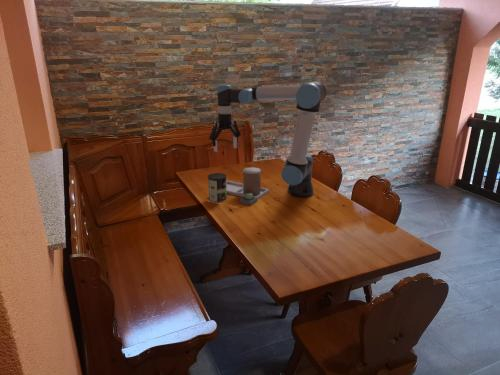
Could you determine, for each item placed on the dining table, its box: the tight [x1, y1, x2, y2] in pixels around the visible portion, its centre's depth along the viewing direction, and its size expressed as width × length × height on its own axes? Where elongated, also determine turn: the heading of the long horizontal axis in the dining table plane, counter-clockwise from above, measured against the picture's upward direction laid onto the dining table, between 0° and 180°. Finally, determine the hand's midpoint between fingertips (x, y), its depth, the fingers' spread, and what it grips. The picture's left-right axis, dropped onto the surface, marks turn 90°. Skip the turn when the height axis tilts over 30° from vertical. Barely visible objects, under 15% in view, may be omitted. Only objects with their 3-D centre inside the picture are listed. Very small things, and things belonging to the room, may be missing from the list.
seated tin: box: [242, 166, 262, 196], centre depth 211 cm, size 10×10×14 cm
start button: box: [245, 193, 253, 201], centre depth 201 cm, size 4×4×3 cm
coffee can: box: [207, 172, 228, 204], centre depth 205 cm, size 10×10×14 cm
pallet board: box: [226, 180, 270, 200], centre depth 217 cm, size 29×15×2 cm, turn 60°
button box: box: [239, 197, 259, 206], centre depth 202 cm, size 7×7×3 cm
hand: (225, 149), depth 215 cm, fingers open, 13 cm apart
